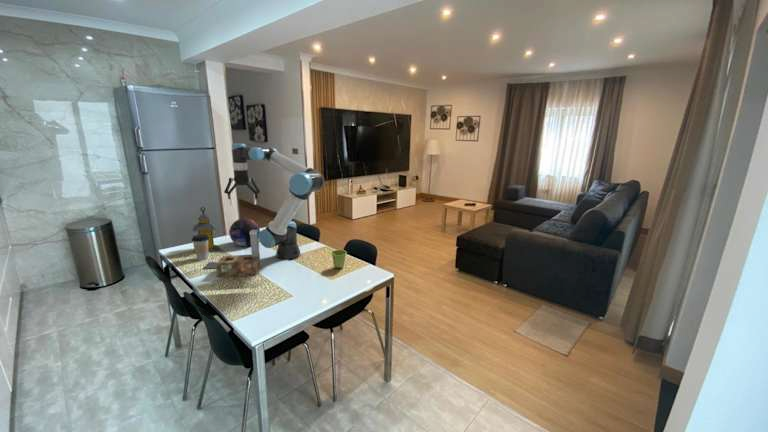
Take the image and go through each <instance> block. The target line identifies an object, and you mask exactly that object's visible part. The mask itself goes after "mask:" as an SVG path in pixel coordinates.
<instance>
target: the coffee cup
mask: <svg viewBox="0 0 768 432" xmlns="http://www.w3.org/2000/svg"><path fill="white" fill-rule="evenodd" d="M208 239H209V237H208V235H206V234H201V235H199V234H196V235H193V236H192V238H191V242H193V243H192V245H193V249H194V254H195V253H196V254H195V255H196V259H197V261H198V262H199V261H206V260H208V259H209V252H208Z"/></svg>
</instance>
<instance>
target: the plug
mask: <svg viewBox="0 0 768 432" xmlns="http://www.w3.org/2000/svg"><path fill="white" fill-rule="evenodd" d="M250 240H251V245H250V249H251V250H250V251H251V255H252V259H259V257H260V258H261V254H260V241H259V238H258V230H251V231H250Z"/></svg>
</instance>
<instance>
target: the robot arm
mask: <svg viewBox="0 0 768 432" xmlns="http://www.w3.org/2000/svg"><path fill="white" fill-rule="evenodd" d="M231 153H232V154H231V155H232V162H233V163H232V165H233V169H234V171H233V176H234V177H228V183H227V185H226V187H225V188H224V191H223V192H224V194H227V198H228V200H229V201H230V206H232V205H234V201H233V200H234V199H233V193H232V192H233V191H234V190H235V188H236V187H238V186H246V187H248V188H249V189H250V190H251V192H252V193H253V205H254V206H255V205H257V200H258V198H259V197H258V194H259V193H261V190H260V188H259V186H258V185H257V184H256V183H257V182H256V181H255V178H254V177H250V178H249V173H248V172H249V171H248V161H254V162H256V161H259V162H260V161H268V162H270V163H272V164H274V165H276V166H278V167H279V168H281V169H283V170H284V171H287V172H288V173H291V174H292V176H291V177H290V179H289V182H288V183H289V188H288V190H289V193H288V195H287V197H286V198H285V199H284V201H283V204H282V205H281V207H280V209H279V210H278V212H277V214H276V215H275V217H274V219H273V220H271V221H270V222H269V223H268V224H267V225H266V227H265V228H264V229H261V230H260V232H259V238H258V241H259V244H261V245H262V247H264V248H265V249H271V248H274V247H277V250H276V252H275V254H276V255H275V256H276V258H278V259H280V260H289V259H296V258H298V257H300V256H301V250H300V247H299V245H298V236H297V235H298V234H297V233H298V232H297V230H298V229H297V224H296V222H295V221H292V220H293V219H294V216H295V215H296V213H297V212H298V210H299V209H300V207H301V206H302V204H303V203H304V201H307V200H308V199H309V198H310V196H311V195H312V194H313V193H314V192H315V193H316V192H318V191H320V190H322V188H323V187H324V185H325V178H324V175H323V174H322V173H321V172H319V171H318V170H316V169H314V168H312V167H307V166H305V165H303V164H301V163H299V162H298V161H295V160H293V159H291V158H289V157H288V156H285V155H284V154H282V153H279V151H278V150H277V149H276V148H275V147H271V146H270V147H269V146H268V147H264V146H263V147H260V146H259V147H257V146H256V147H255V146H254V147H252V146H250V147H249V146H248V147H247V146H246V144H245V143H232V145H231ZM233 182H234V184H233V186H232V187H231V185H232V183H233ZM249 182H251V183H249ZM251 184H252V185H253V186H252V185H251ZM230 187H231V188H230ZM229 189H230V190H229Z"/></svg>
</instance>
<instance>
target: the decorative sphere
mask: <svg viewBox="0 0 768 432" xmlns="http://www.w3.org/2000/svg"><path fill="white" fill-rule="evenodd" d="M251 230H258V239H259V232H260V231H261V229H260V226H259V225H258V223H256V222H255V221H254V220H253V219H251V218H247V217H245V218H244V217H243V218H238V219H237V220H235V221H234V222H233V223H232V224H231V226H230V227H229V230H228V232H229V234H228V235H229V237H230V239H231V241H232V242H233V243H234V244H235V245H237V246H241V247H249V246H251V240H250V231H251Z"/></svg>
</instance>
